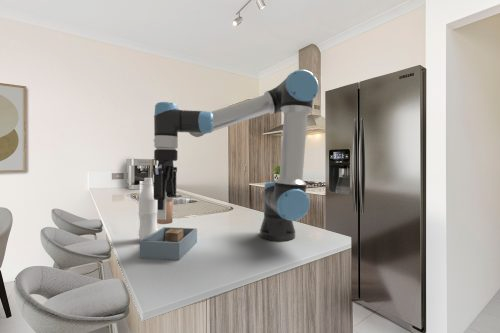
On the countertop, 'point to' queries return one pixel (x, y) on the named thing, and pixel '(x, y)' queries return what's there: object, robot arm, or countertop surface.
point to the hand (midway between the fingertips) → (165, 217)
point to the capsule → (167, 214)
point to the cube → (174, 235)
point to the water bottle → (147, 210)
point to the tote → (167, 245)
